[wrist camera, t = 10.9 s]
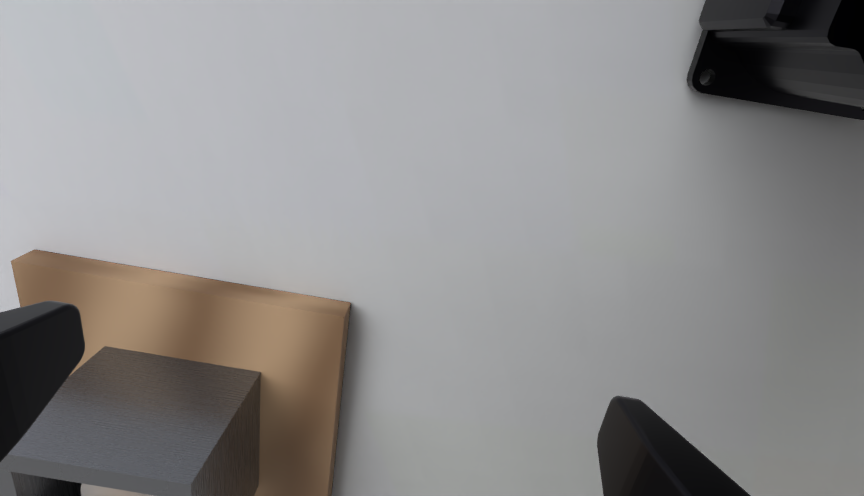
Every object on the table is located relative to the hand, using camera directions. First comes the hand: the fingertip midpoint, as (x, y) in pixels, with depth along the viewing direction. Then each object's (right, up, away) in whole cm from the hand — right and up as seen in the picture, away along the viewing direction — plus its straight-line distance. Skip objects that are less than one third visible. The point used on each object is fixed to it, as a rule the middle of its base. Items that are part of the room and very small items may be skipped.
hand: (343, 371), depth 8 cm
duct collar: (-10, -6, +15) cm, 19 cm away
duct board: (-10, -5, +16) cm, 20 cm away
